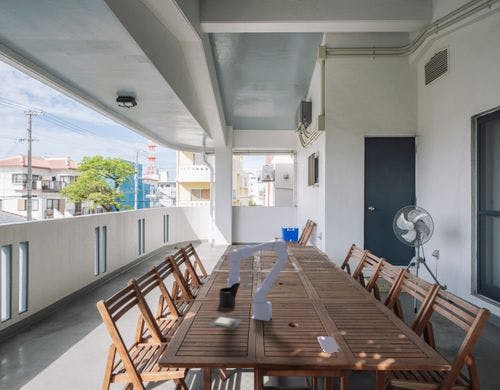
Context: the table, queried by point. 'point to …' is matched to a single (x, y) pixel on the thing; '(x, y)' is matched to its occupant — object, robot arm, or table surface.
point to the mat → (225, 326)
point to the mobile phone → (328, 344)
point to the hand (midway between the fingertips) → (233, 296)
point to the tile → (224, 321)
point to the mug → (226, 298)
